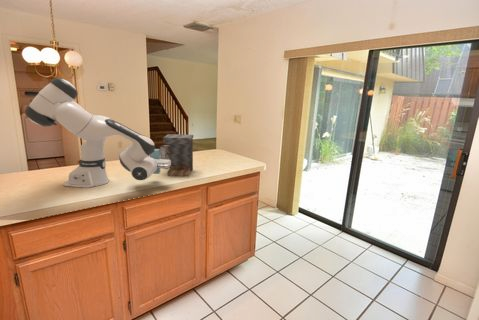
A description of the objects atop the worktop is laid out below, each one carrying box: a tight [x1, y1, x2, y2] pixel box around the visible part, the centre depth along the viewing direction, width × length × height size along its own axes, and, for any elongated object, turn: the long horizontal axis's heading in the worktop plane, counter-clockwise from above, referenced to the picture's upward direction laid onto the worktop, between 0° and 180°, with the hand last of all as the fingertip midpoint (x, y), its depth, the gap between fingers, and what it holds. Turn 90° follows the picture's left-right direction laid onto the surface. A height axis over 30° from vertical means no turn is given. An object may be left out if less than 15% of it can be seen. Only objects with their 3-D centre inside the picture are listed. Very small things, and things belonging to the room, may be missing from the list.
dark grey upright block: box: [162, 133, 194, 177], centre depth 168 cm, size 17×16×26 cm
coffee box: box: [159, 144, 170, 169], centre depth 184 cm, size 9×6×16 cm
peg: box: [149, 148, 161, 175], centre depth 148 cm, size 4×4×14 cm
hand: (155, 160), depth 149 cm, fingers closed on peg, 4 cm apart
